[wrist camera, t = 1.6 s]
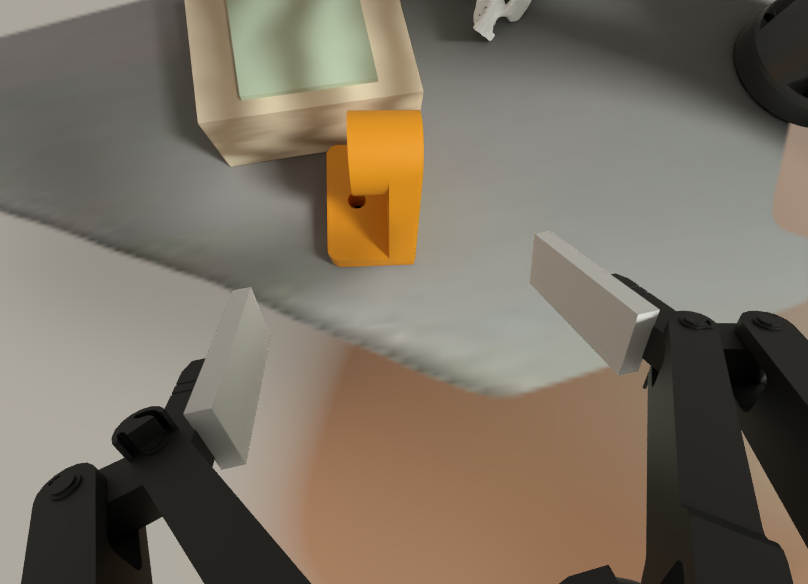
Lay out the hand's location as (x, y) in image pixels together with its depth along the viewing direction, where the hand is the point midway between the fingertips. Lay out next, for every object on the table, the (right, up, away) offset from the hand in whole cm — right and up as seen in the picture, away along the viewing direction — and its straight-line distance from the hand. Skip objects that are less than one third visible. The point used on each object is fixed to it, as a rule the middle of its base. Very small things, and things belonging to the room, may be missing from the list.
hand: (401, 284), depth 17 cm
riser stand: (-9, +21, +19) cm, 30 cm away
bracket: (-3, +7, +17) cm, 19 cm away
